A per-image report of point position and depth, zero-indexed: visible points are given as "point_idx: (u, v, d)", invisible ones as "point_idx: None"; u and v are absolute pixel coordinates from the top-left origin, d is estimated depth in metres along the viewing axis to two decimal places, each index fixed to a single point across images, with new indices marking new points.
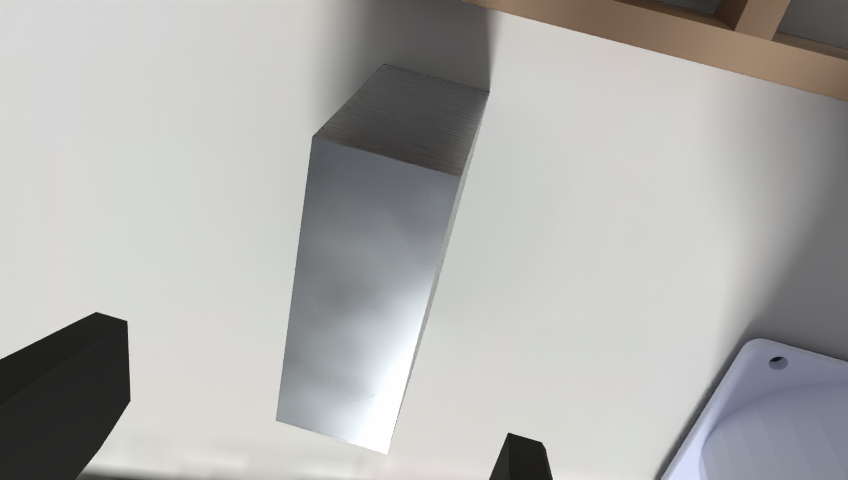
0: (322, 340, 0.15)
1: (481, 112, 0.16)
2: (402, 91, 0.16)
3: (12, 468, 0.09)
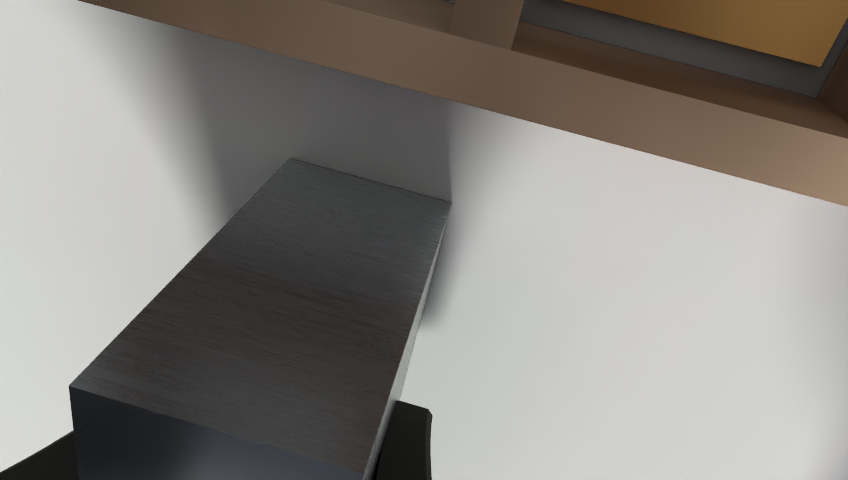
0: None
1: (431, 256, 0.10)
2: (302, 221, 0.10)
3: None
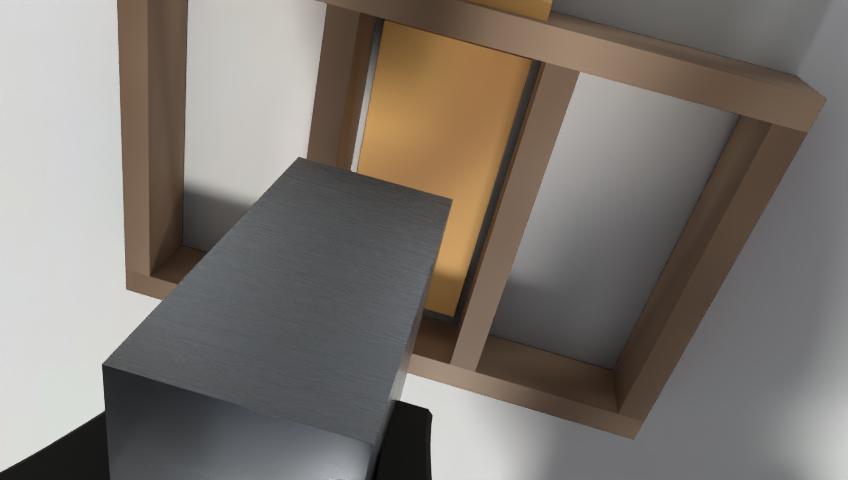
0: None
1: (434, 249, 0.10)
2: (312, 216, 0.10)
3: None
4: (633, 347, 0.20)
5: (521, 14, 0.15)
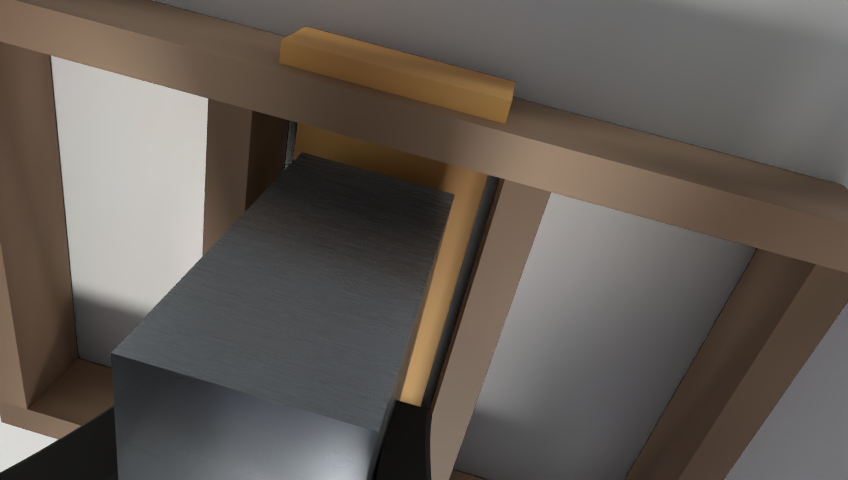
0: None
1: (437, 243, 0.10)
2: (315, 210, 0.10)
3: None
4: None
5: (470, 114, 0.11)
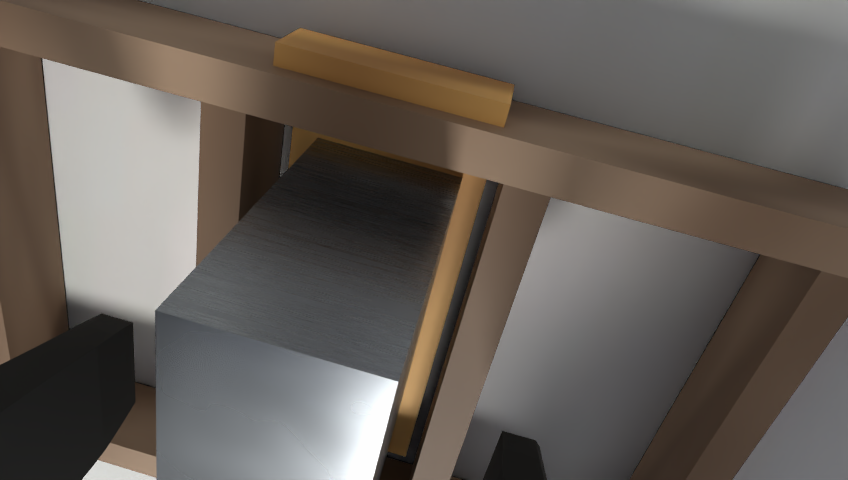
0: None
1: (446, 221, 0.11)
2: (333, 190, 0.11)
3: (18, 470, 0.09)
4: None
5: (468, 117, 0.10)
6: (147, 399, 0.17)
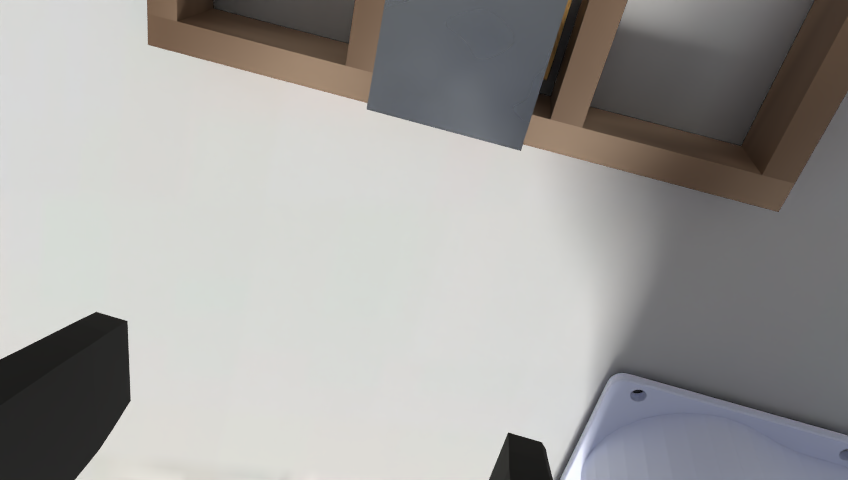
0: None
1: None
2: None
3: (12, 468, 0.09)
4: (777, 97, 0.16)
5: None
6: (290, 33, 0.17)
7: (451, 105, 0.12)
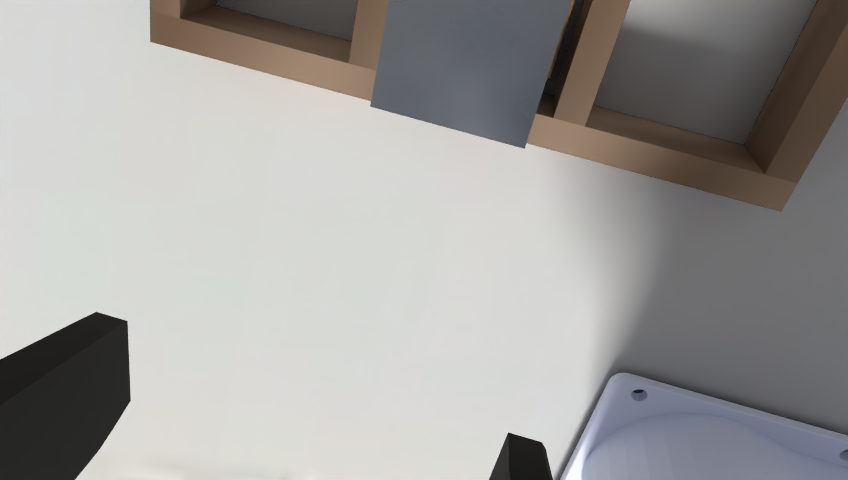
0: None
1: None
2: None
3: (12, 468, 0.09)
4: (780, 96, 0.16)
5: None
6: (293, 30, 0.17)
7: (455, 103, 0.12)
